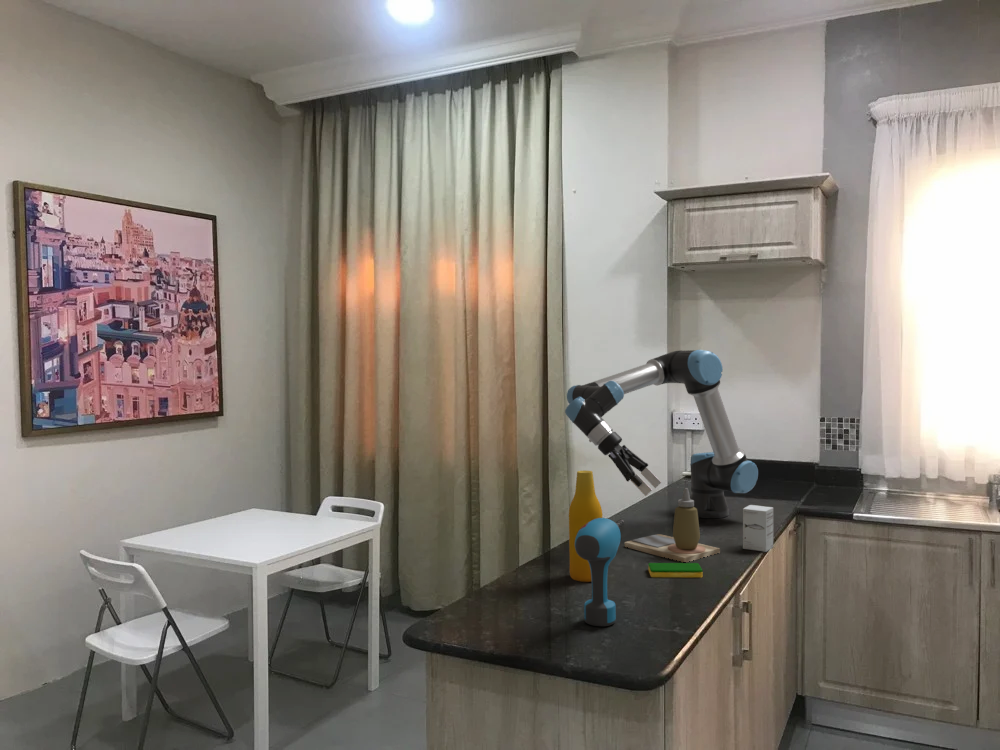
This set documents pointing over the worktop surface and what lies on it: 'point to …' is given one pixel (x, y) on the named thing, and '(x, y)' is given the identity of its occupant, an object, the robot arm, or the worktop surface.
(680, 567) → the dish sponge
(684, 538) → the squeeze bottle
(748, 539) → the supplement box
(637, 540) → the board
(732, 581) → the worktop surface
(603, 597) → the power drill
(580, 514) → the beer bottle
